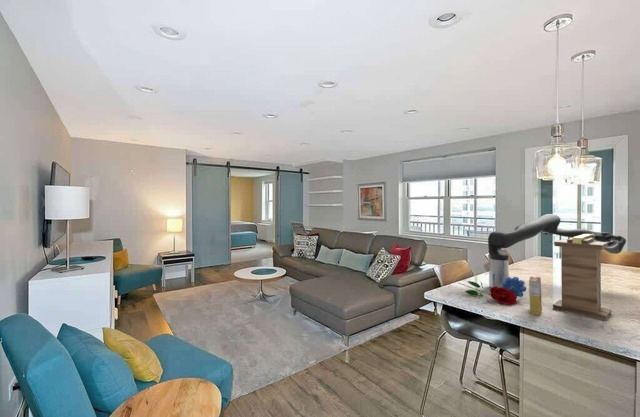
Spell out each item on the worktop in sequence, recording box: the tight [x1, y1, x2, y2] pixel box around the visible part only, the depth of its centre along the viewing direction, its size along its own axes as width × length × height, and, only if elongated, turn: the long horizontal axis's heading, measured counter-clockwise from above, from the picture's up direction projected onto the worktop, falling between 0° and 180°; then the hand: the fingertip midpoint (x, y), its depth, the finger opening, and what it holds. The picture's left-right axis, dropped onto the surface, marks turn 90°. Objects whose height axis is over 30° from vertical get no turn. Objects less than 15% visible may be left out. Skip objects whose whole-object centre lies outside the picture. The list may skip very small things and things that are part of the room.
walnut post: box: [552, 237, 612, 321], centre depth 131 cm, size 14×18×34 cm
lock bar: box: [573, 234, 593, 244], centre depth 134 cm, size 24×3×2 cm, turn 128°
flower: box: [458, 280, 518, 306], centre depth 152 cm, size 9×9×30 cm
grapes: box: [501, 276, 527, 299], centre depth 150 cm, size 12×7×12 cm, turn 38°
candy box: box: [528, 276, 543, 316], centre depth 132 cm, size 9×4×15 cm, turn 140°
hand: (598, 235), depth 145 cm, fingers open, 8 cm apart
